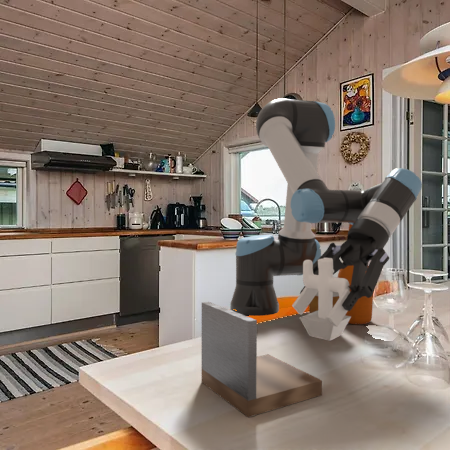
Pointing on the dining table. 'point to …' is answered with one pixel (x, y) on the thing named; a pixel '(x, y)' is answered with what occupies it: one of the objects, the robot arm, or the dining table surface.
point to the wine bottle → (363, 306)
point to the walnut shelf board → (269, 387)
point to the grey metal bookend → (230, 348)
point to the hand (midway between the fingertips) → (313, 315)
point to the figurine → (323, 299)
